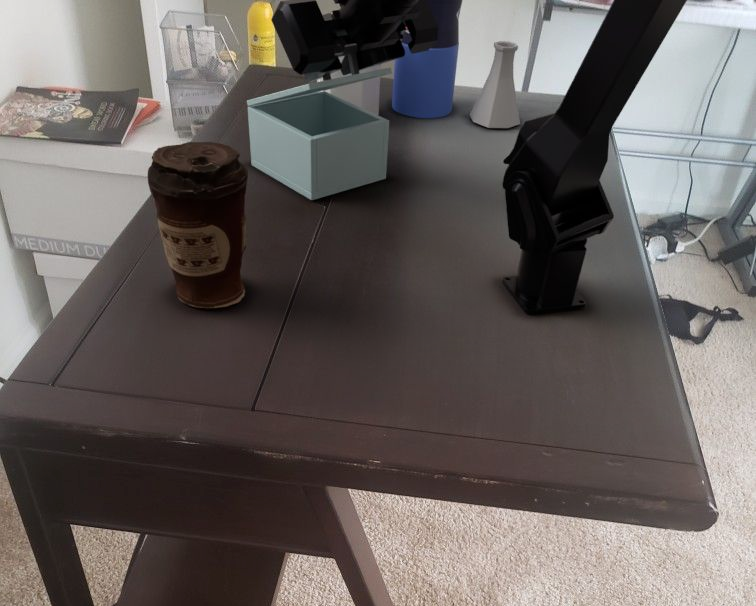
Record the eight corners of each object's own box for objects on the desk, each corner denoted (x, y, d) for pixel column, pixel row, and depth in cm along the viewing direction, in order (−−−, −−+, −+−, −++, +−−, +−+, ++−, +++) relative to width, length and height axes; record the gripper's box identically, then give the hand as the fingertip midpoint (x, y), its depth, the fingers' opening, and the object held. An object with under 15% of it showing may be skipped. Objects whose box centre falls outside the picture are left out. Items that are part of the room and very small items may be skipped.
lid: (392, 73, 84) (385, 32, 82) (309, 90, 78) (300, 46, 77) (324, 90, 94) (317, 54, 92) (247, 106, 88) (238, 68, 86)
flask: (460, 115, 110) (470, 38, 103) (502, 111, 113) (514, 35, 106) (485, 132, 106) (497, 53, 99) (528, 127, 108) (542, 49, 101)
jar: (309, 108, 109) (307, 12, 101) (358, 102, 112) (361, 9, 104) (335, 129, 104) (336, 29, 95) (386, 122, 107) (392, 25, 98)
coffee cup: (237, 325, 67) (223, 180, 58) (151, 311, 68) (123, 166, 59) (266, 279, 74) (258, 141, 64) (187, 267, 74) (167, 129, 65)
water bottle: (437, 95, 116) (458, -111, 98) (462, 116, 110) (489, -100, 92) (382, 99, 114) (392, -112, 96) (404, 120, 108) (420, -101, 90)
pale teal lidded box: (386, 178, 92) (389, 120, 88) (311, 200, 87) (310, 139, 82) (324, 146, 99) (324, 90, 94) (251, 165, 93) (247, 106, 88)
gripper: (432, -112, 74) (358, -5, 88) (278, -105, 65) (222, 13, 79) (477, -1, 76) (397, 87, 89) (332, 21, 67) (268, 116, 80)
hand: (324, 74), depth 84 cm, fingers closed on lid, 5 cm apart
